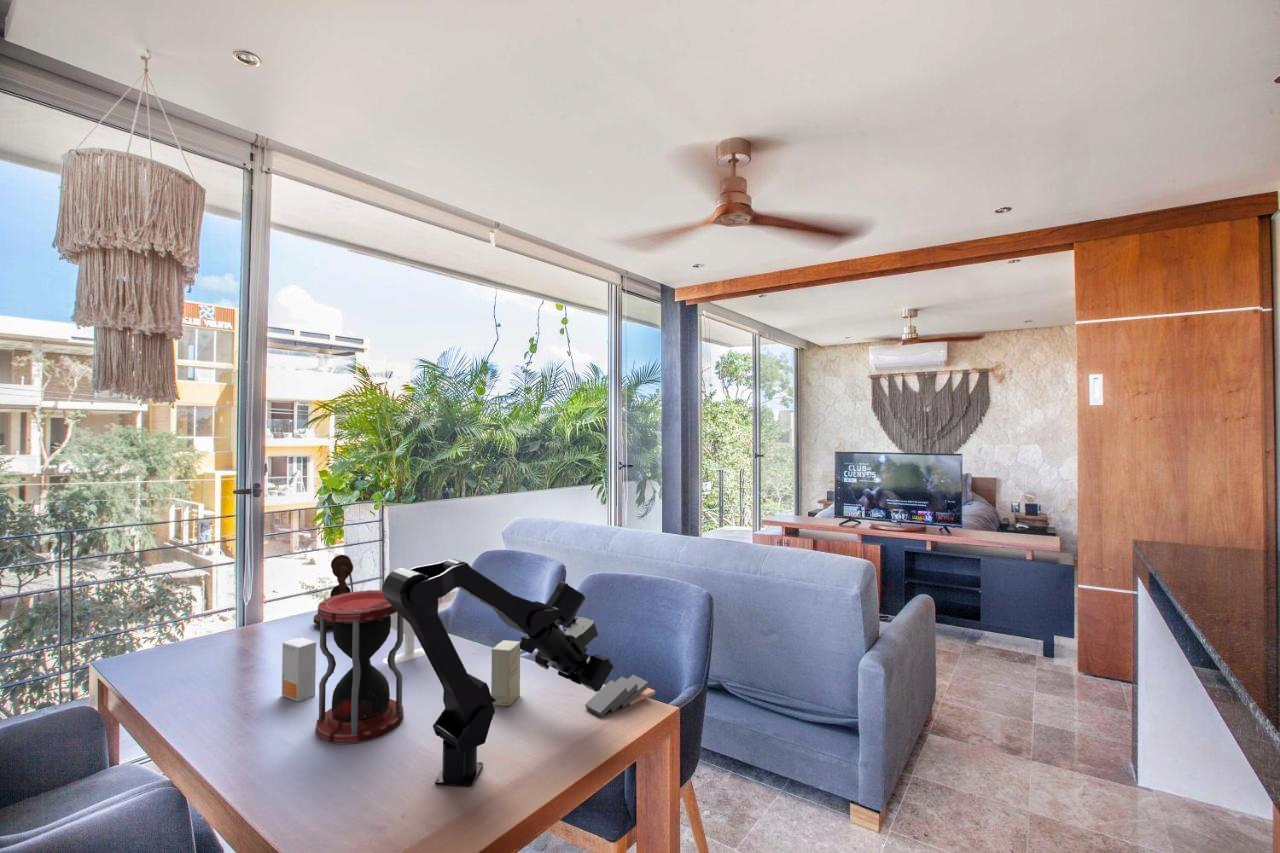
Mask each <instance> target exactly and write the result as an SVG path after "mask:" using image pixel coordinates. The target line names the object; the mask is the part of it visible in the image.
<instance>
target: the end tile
mask: <svg viewBox="0 0 1280 853" xmlns="http://www.w3.org/2000/svg"><path fill="white" fill-rule="evenodd" d="M654 695H656V690H654V689H652V688H650V687H648V688H647V689H646V690H645V691H643V692H642V693H641V694H640V695H639V696H637V697H636V698H635V699H634V700H633V701H632V702H630V703H629V704H628V705H627V706H631V705H634V704H636V703H638V702H641V701H643V700H645V699H647V698H649V697H652V696H654ZM642 698H643V700H642Z"/></svg>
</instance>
